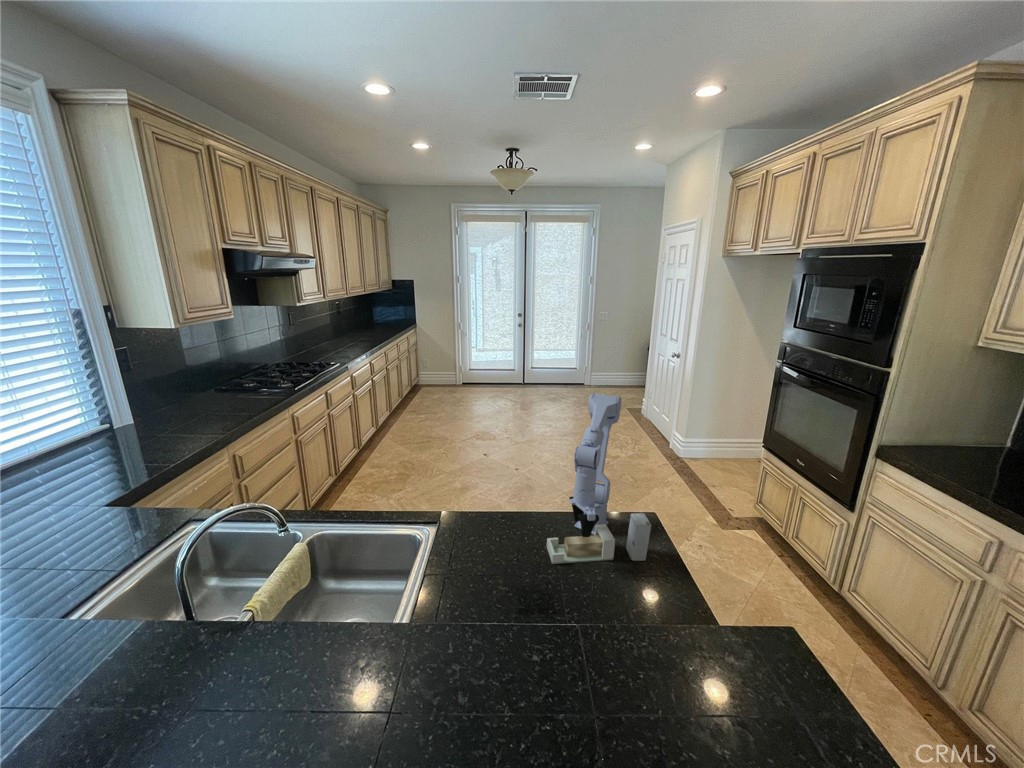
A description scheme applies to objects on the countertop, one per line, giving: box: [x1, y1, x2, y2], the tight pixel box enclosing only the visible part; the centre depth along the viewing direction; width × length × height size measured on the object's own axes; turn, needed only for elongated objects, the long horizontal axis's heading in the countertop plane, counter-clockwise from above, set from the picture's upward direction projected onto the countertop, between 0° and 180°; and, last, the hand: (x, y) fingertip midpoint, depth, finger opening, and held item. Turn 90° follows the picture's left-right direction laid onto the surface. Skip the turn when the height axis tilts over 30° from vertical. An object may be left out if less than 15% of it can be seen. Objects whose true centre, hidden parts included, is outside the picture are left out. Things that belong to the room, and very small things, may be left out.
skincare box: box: [625, 512, 652, 562], centre depth 117 cm, size 6×4×12 cm
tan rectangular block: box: [564, 534, 603, 557], centre depth 118 cm, size 12×4×4 cm, turn 98°
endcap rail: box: [546, 524, 616, 565], centre depth 118 cm, size 18×8×7 cm, turn 98°
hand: (581, 528), depth 117 cm, fingers open, 7 cm apart
